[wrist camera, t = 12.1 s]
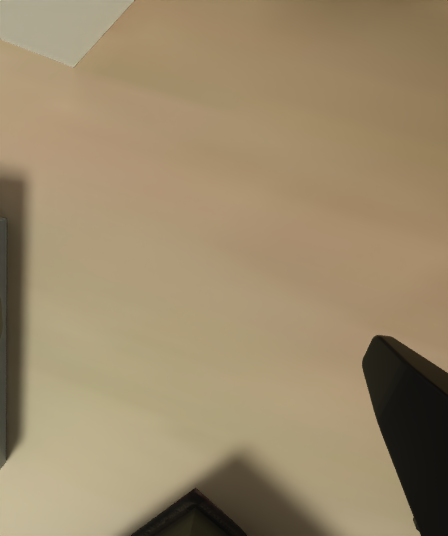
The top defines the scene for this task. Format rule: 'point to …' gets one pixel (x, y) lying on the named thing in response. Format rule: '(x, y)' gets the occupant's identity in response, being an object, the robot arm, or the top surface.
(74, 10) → the charger
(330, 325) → the top surface
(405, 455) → the robot arm
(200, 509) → the diary
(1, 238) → the power strip
